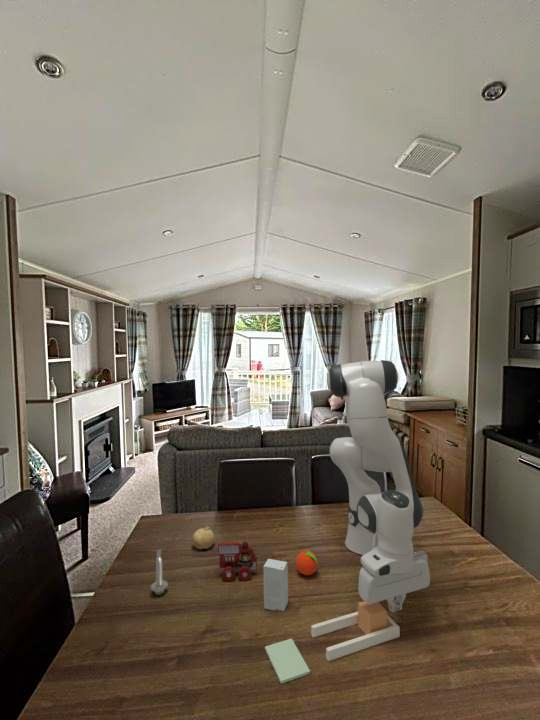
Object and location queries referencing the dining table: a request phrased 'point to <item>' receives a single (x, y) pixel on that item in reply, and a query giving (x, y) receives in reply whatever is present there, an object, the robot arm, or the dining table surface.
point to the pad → (287, 660)
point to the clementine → (306, 563)
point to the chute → (357, 643)
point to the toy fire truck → (236, 560)
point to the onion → (203, 538)
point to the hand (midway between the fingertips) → (395, 609)
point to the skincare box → (275, 584)
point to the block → (371, 617)
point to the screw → (159, 576)
